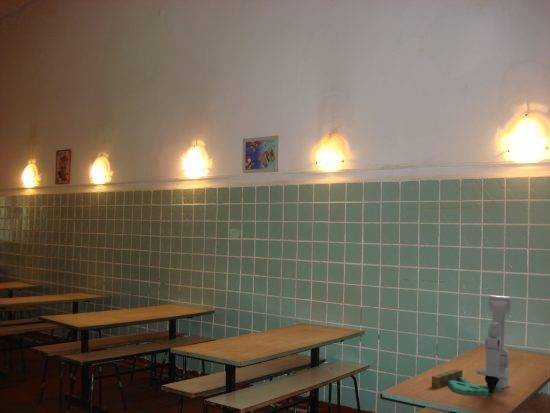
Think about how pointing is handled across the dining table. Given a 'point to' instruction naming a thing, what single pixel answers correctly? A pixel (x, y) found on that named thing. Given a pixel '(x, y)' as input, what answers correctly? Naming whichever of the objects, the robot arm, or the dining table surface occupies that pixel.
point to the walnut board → (446, 378)
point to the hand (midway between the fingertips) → (491, 392)
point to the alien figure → (469, 387)
